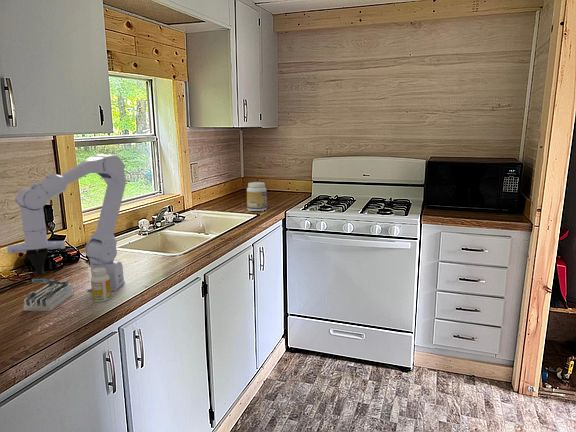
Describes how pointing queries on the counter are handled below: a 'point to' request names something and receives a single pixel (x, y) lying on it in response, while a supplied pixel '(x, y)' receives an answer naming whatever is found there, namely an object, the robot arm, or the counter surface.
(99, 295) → the supplement bottle
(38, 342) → the counter surface
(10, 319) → the counter surface
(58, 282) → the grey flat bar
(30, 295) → the heat sink
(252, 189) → the supplement tub
